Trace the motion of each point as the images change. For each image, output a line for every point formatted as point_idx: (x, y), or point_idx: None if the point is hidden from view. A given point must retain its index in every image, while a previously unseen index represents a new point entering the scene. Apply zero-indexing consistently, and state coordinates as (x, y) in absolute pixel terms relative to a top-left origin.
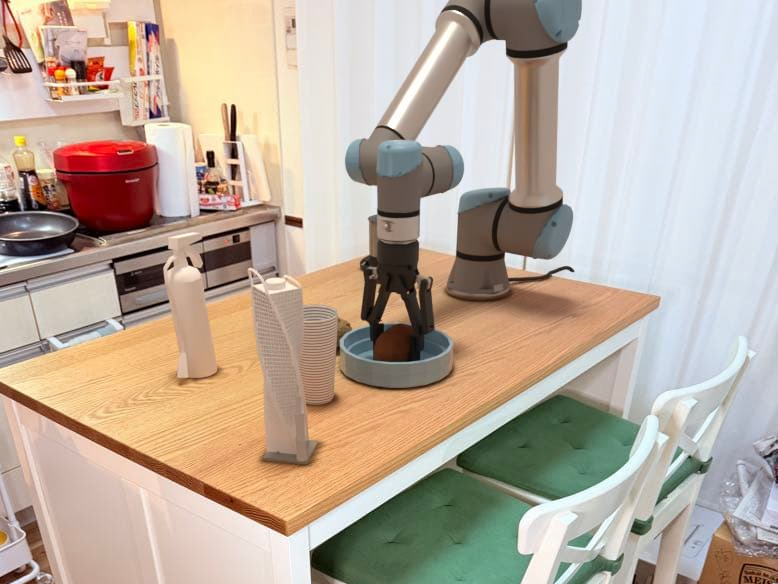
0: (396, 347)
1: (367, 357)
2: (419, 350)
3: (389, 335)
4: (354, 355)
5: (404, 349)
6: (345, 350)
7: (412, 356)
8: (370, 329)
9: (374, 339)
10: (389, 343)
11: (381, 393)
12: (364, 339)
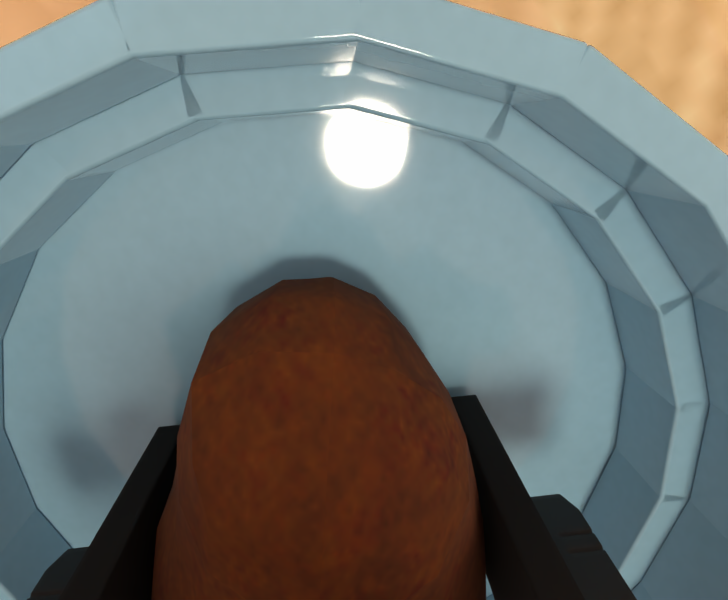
0: (182, 468)
1: (542, 416)
2: (59, 564)
3: (281, 562)
4: (437, 33)
5: (173, 511)
6: (622, 98)
7: (125, 492)
8: (618, 584)
9: (516, 502)
10: (237, 462)
11: (72, 7)
12: (660, 535)
